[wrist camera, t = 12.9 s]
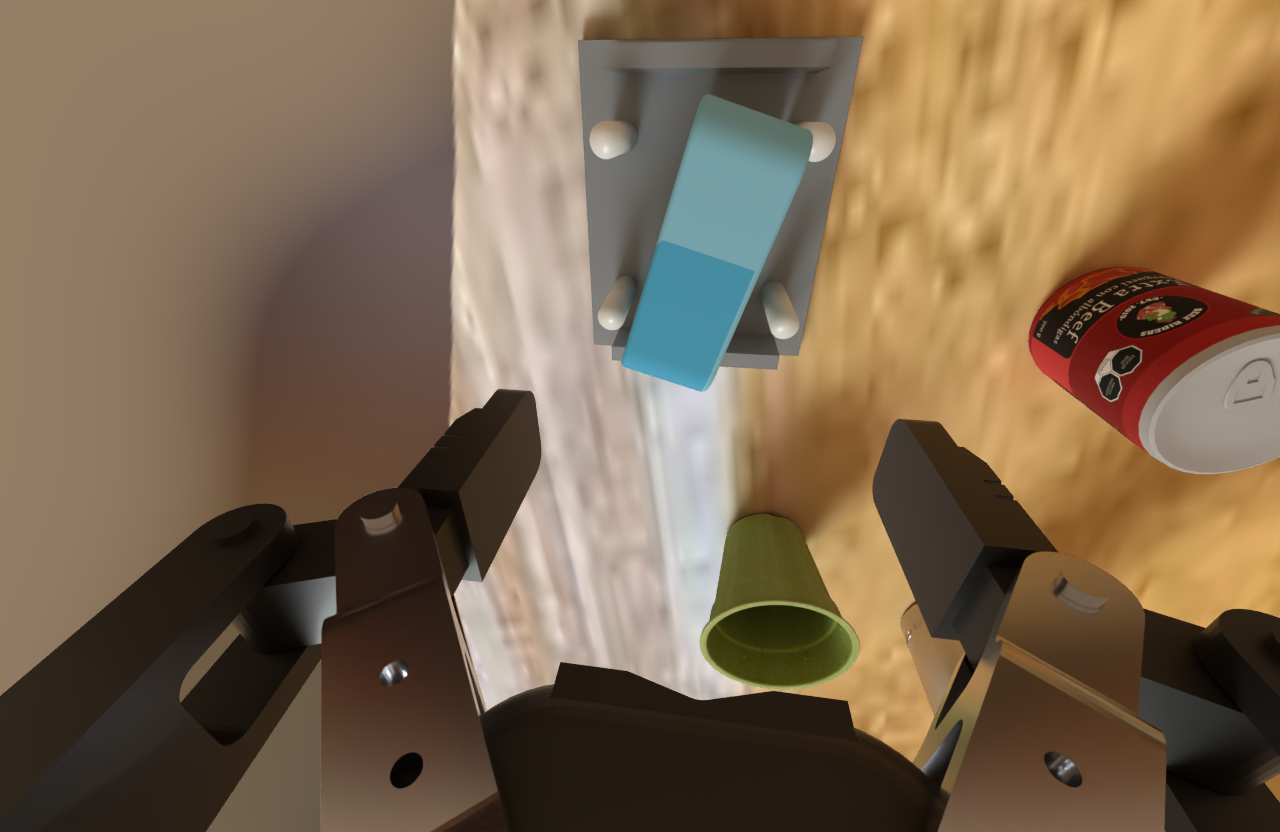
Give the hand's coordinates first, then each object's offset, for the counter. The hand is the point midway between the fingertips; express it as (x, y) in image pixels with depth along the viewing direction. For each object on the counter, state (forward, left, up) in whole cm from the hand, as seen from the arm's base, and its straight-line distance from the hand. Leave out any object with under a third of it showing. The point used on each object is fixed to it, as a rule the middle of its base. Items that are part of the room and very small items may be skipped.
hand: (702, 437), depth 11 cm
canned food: (-26, +5, -24) cm, 36 cm away
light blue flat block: (0, -1, -23) cm, 23 cm away
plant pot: (-8, +28, -24) cm, 38 cm away
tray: (0, -1, -24) cm, 24 cm away
